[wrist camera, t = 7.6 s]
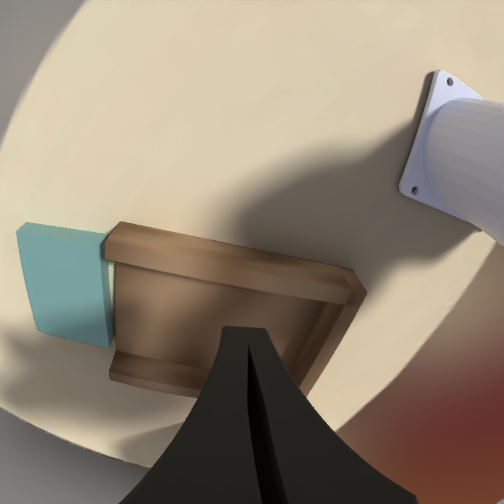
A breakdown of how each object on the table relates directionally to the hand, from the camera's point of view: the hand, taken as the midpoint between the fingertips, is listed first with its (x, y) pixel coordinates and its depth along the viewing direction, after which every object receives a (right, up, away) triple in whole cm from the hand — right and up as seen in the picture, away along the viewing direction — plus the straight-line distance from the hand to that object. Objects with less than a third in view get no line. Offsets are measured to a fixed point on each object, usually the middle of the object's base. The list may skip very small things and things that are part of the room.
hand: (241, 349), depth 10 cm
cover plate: (-12, +1, +9) cm, 15 cm away
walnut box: (-2, -1, +10) cm, 10 cm away
